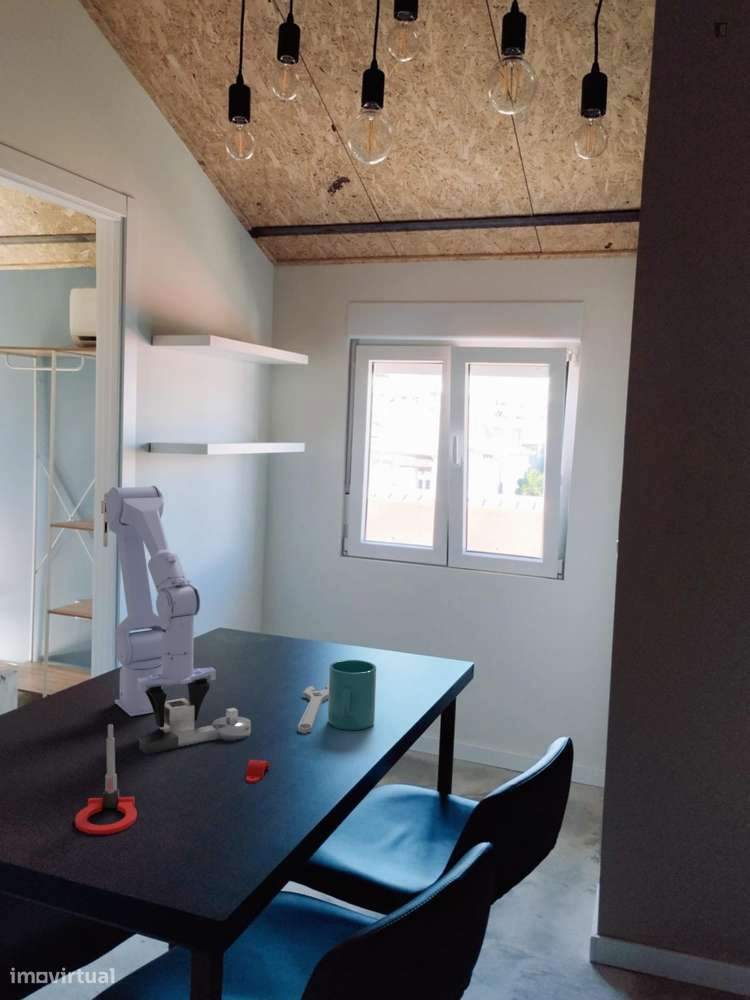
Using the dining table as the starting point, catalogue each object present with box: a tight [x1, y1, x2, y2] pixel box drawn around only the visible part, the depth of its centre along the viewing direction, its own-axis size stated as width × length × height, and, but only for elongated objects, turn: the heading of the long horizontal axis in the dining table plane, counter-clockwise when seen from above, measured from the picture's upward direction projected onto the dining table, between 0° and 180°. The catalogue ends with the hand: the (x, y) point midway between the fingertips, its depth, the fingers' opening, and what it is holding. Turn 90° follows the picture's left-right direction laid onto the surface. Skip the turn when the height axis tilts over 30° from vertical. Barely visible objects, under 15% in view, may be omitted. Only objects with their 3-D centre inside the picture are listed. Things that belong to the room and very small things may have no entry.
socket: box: [159, 697, 195, 733], centre depth 157 cm, size 5×5×5 cm
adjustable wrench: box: [297, 684, 329, 734], centre depth 170 cm, size 25×6×2 cm, turn 171°
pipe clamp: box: [245, 759, 271, 784], centre depth 140 cm, size 8×3×2 cm, turn 171°
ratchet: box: [138, 707, 252, 755], centre depth 153 cm, size 7×20×4 cm, turn 126°
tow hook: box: [74, 723, 138, 835], centre depth 122 cm, size 8×13×9 cm
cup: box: [327, 659, 377, 731], centre depth 162 cm, size 9×12×11 cm
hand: (176, 722), depth 157 cm, fingers open, 6 cm apart
